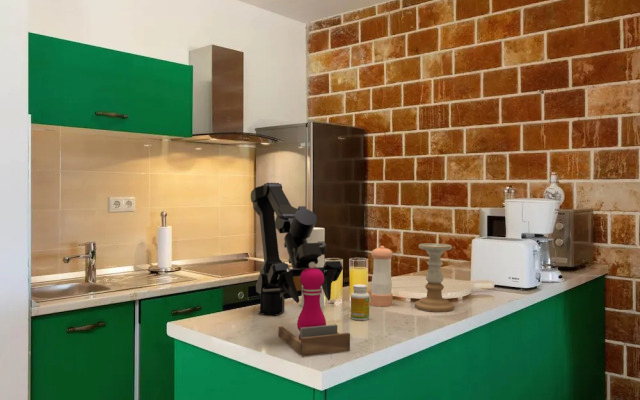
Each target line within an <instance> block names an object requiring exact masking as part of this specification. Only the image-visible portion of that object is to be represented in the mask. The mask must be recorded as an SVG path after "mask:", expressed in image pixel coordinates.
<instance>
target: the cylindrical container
mask: <svg viewBox="0 0 640 400" xmlns="http://www.w3.org/2000/svg"><path fill="white" fill-rule="evenodd" d="M325 234H326V231H325V228H324V227H314V228H313V230H312V233H311V235H310V237H308V238H306V239H307V242H308V243H318V241H324V242H325ZM325 243H326V242H325ZM317 259H318V263H317V264H316V267H323V266H324V264H325V254H324V255H321V256H319V257H318V258H317ZM302 288H303V285H302V284H301V289H302ZM321 288H322V286H321ZM303 305H304V294H302V293H301V308H303ZM320 306H321V309H323V308H324V307H325V293H324V291H323V288H322V294H320Z"/></svg>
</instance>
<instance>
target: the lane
mask: <svg viewBox="0 0 640 400" xmlns="http://www.w3.org/2000/svg"><path fill="white" fill-rule="evenodd" d="M277 328H278V330H277V333H278V335H277V336H278V338H279V339H281V340H282V341H283V342H284V343H286V344H287V345H288V346H290V347H291V348H292V349H293V350H294V351H295V352H297V353H298V355H300V356H301V357H307V356H314V355H315V356H316V355H323V354H325V355H326V354H333V353H340V352H348V351H349V352H351V351H350V350H351V333H350V332H343V333H342V332H341V333H339V332H338V331H337V334H331V335H321V336H311V337H302V338H301V340H299V337H297V336H296V335H294V334H293V333H291V332H290V331H289V330H288V329H287V328H285V327H284V326H283V325H280V326H278V327H277Z"/></svg>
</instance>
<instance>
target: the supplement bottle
mask: <svg viewBox="0 0 640 400" xmlns="http://www.w3.org/2000/svg"><path fill="white" fill-rule="evenodd" d="M352 286H353V287H352V289H353V292H352V293H351V294H350V319H351V320H354V321H367V320H369V319H370V294H369V293H368V292H367V291H368V285H367V284H361V283H359V284H358V283H357V284H354V285H352Z"/></svg>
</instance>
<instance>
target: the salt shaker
mask: <svg viewBox="0 0 640 400" xmlns="http://www.w3.org/2000/svg"><path fill="white" fill-rule="evenodd" d="M370 255H371V257H372V259H373V267H372V268H373V271H372V272H373V273H372V278H371V292H370V294H369V305H371V306H375V307H391V306H393V300H394V299H393V295H394V294H393V293H392V286H393V283H392V277H391V276H392V275H391V259H392V258H393V255H394V254H393V251H392V250H391V249H389V248H386V247H385V246H384V245H380V246H379V248H378V247H377V248H375V249H372V251H371V253H370Z"/></svg>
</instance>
